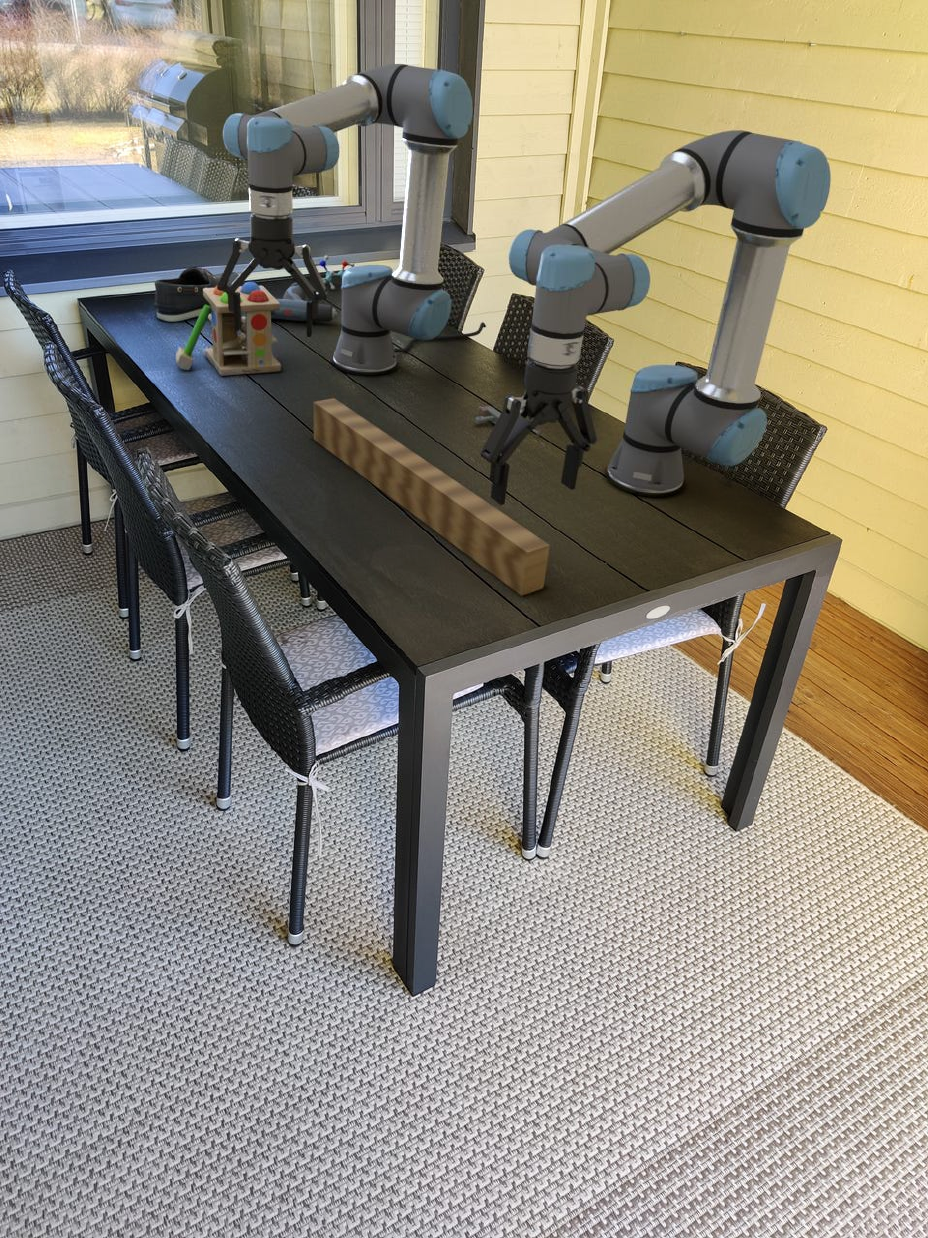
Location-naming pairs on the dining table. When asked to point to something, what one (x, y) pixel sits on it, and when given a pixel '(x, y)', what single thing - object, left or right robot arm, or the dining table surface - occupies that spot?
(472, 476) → the dining table surface
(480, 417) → the clamp
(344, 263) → the molecular model
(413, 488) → the beam
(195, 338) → the pounding bench toy
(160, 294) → the boat shoe
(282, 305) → the power drill
